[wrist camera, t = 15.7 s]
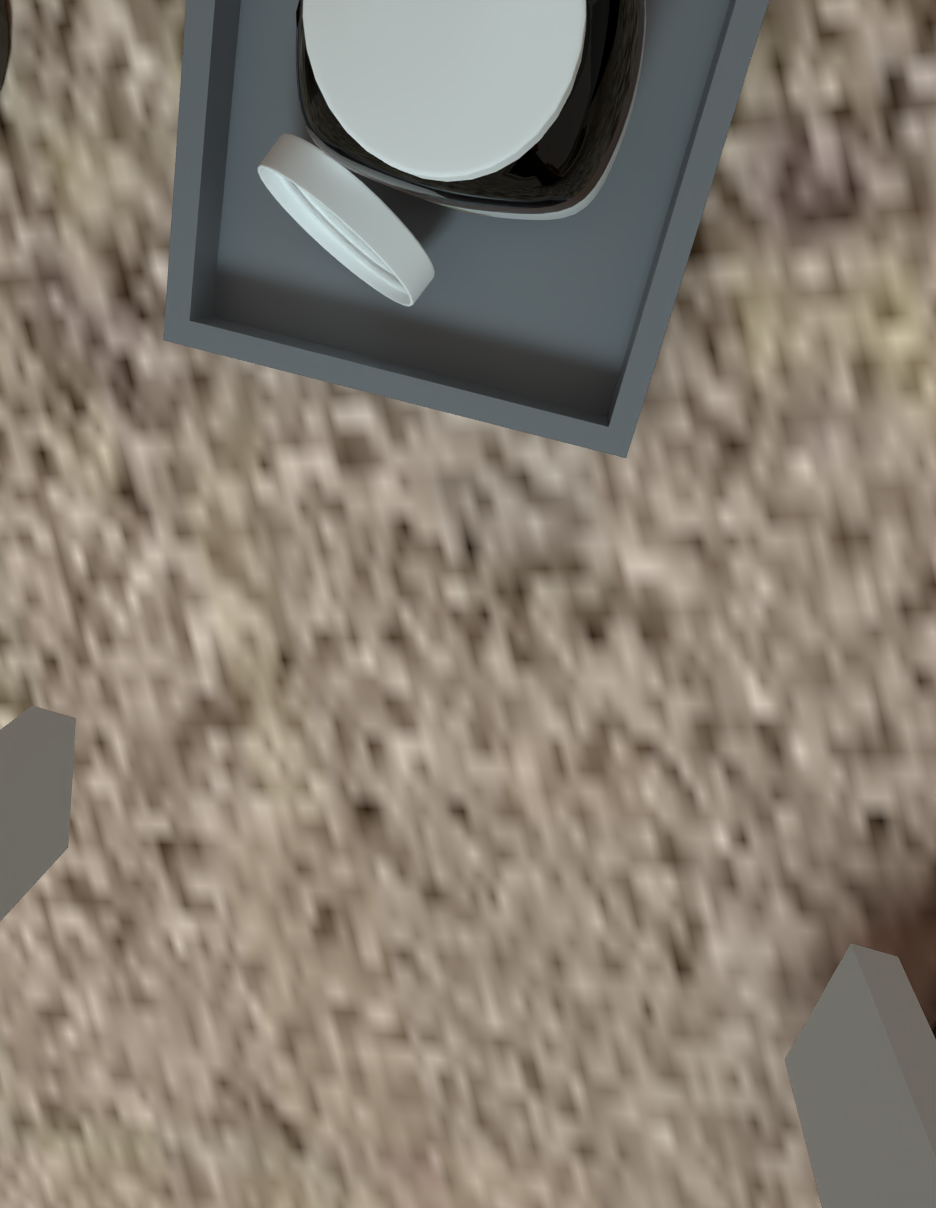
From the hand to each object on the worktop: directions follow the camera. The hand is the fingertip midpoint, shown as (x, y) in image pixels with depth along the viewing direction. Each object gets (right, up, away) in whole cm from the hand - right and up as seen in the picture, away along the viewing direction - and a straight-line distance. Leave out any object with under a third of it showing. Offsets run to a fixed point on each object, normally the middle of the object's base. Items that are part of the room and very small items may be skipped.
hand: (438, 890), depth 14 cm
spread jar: (0, +22, +17) cm, 28 cm away
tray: (0, +22, +18) cm, 29 cm away
